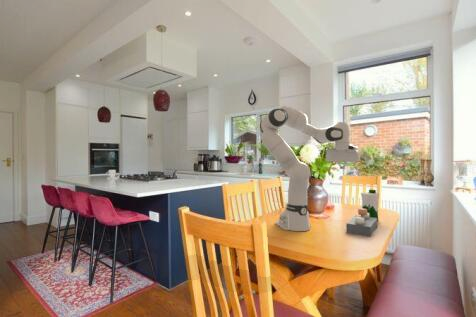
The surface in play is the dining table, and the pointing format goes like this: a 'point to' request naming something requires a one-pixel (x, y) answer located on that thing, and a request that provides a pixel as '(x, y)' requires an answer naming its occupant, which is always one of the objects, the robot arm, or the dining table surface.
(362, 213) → the terracotta knob
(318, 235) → the dining table surface
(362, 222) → the white knob
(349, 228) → the console
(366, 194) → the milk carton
